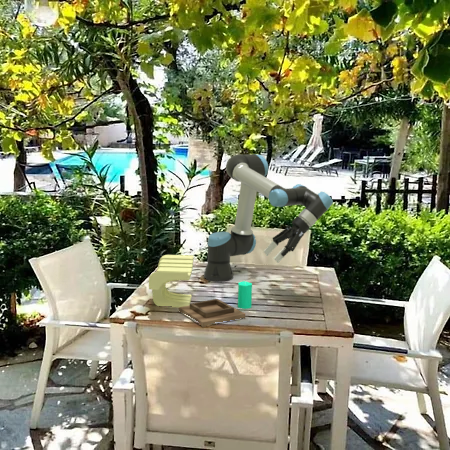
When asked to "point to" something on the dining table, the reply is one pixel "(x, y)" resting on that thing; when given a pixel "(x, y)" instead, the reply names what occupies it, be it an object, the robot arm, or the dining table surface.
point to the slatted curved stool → (167, 272)
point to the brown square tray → (211, 312)
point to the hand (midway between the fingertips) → (270, 257)
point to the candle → (244, 295)
